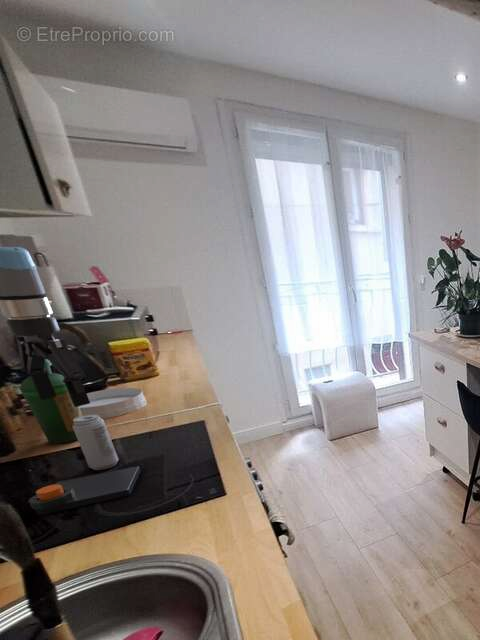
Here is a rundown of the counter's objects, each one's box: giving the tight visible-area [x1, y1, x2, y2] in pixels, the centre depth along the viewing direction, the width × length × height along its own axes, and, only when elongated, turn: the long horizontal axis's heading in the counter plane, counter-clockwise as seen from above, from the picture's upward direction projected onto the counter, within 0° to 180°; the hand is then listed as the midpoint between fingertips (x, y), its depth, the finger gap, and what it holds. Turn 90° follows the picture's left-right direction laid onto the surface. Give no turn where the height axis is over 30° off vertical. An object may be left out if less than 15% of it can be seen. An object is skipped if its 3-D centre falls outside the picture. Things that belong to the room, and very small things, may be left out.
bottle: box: [18, 359, 82, 445], centre depth 127 cm, size 11×11×28 cm
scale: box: [28, 465, 142, 516], centre depth 104 cm, size 17×15×4 cm
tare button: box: [35, 483, 64, 500], centre depth 97 cm, size 4×4×2 cm
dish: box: [79, 387, 147, 420], centre depth 154 cm, size 22×22×5 cm
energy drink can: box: [72, 414, 120, 471], centre depth 114 cm, size 6×6×15 cm
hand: (65, 401), depth 103 cm, fingers open, 13 cm apart
